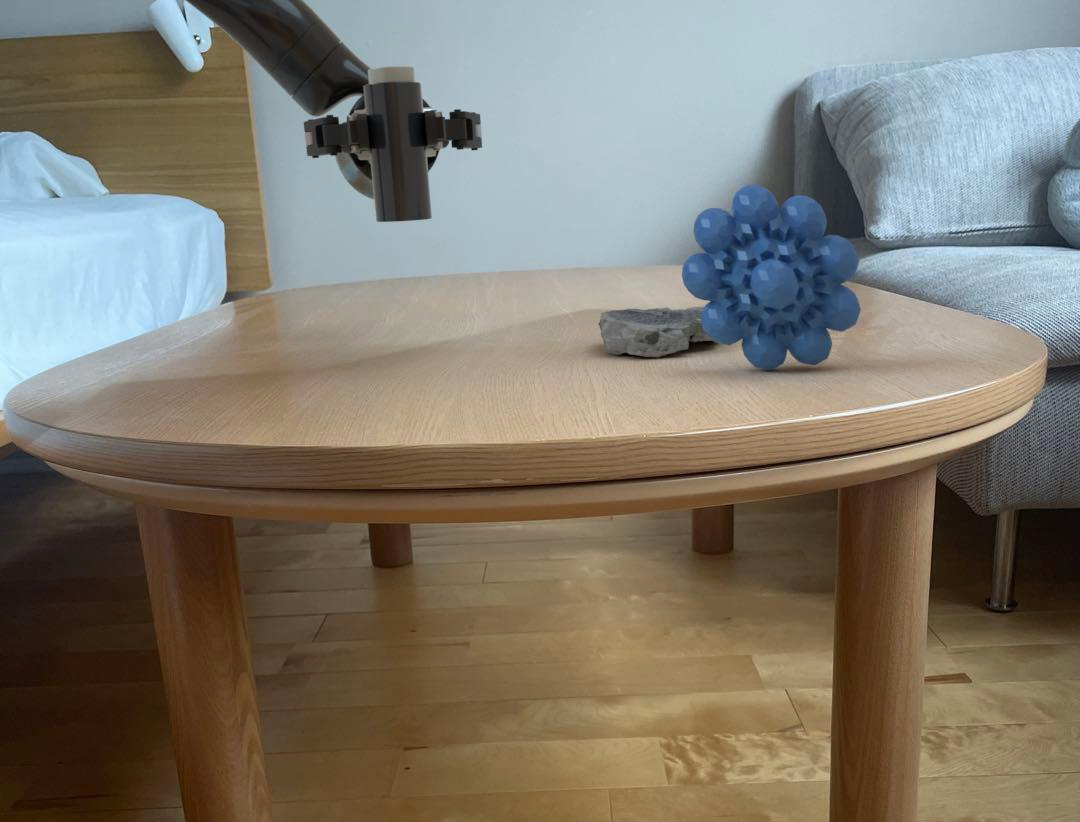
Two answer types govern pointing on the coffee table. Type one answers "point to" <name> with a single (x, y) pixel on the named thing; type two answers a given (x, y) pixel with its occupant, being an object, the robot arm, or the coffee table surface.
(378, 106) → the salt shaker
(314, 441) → the coffee table surface
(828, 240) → the blue flower toy
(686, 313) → the fossil
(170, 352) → the coffee table surface
